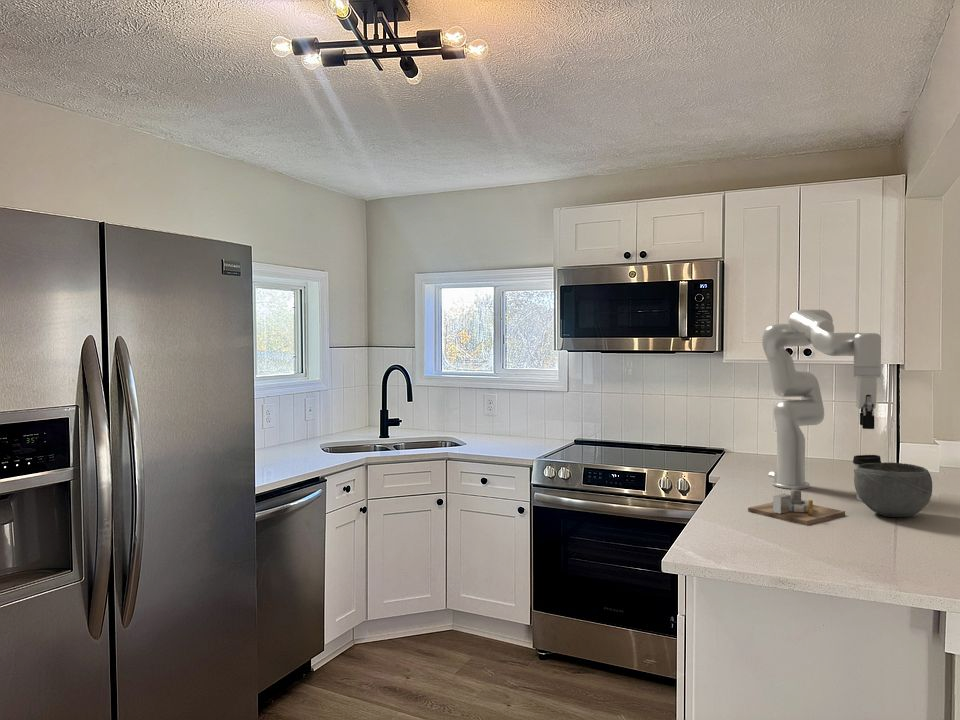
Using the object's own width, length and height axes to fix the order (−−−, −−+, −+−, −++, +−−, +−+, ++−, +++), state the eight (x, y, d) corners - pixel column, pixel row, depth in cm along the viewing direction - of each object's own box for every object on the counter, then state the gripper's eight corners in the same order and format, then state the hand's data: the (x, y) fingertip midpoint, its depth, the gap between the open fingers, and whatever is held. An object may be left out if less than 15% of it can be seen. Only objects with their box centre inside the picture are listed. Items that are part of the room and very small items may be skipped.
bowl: (922, 509, 224) (922, 462, 223) (941, 526, 204) (942, 474, 204) (848, 504, 231) (849, 459, 230) (860, 521, 211) (860, 471, 210)
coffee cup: (885, 503, 232) (885, 458, 232) (857, 502, 234) (857, 457, 233) (876, 497, 240) (876, 453, 240) (849, 496, 242) (849, 453, 242)
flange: (763, 509, 219) (763, 493, 219) (791, 503, 227) (791, 488, 227) (790, 516, 212) (790, 499, 211) (818, 509, 219) (818, 493, 219)
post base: (747, 511, 224) (747, 488, 223) (786, 502, 234) (786, 481, 234) (806, 525, 207) (806, 500, 207) (845, 515, 218) (845, 492, 217)
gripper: (851, 371, 231) (851, 423, 231) (855, 373, 215) (855, 429, 215) (877, 371, 228) (877, 424, 228) (884, 374, 212) (883, 430, 212)
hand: (866, 426), depth 222 cm, fingers open, 9 cm apart
